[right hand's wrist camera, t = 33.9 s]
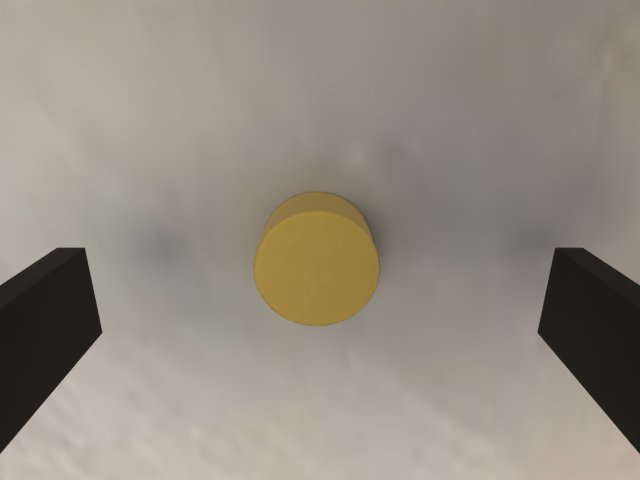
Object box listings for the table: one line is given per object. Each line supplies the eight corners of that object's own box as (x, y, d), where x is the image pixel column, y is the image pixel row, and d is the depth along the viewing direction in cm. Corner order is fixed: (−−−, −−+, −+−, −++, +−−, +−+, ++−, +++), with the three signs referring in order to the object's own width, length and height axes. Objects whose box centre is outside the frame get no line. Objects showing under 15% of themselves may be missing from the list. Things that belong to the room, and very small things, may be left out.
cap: (274, 179, 15) (266, 197, 13) (384, 205, 16) (395, 227, 14) (253, 280, 17) (243, 312, 15) (354, 302, 17) (360, 336, 15)
